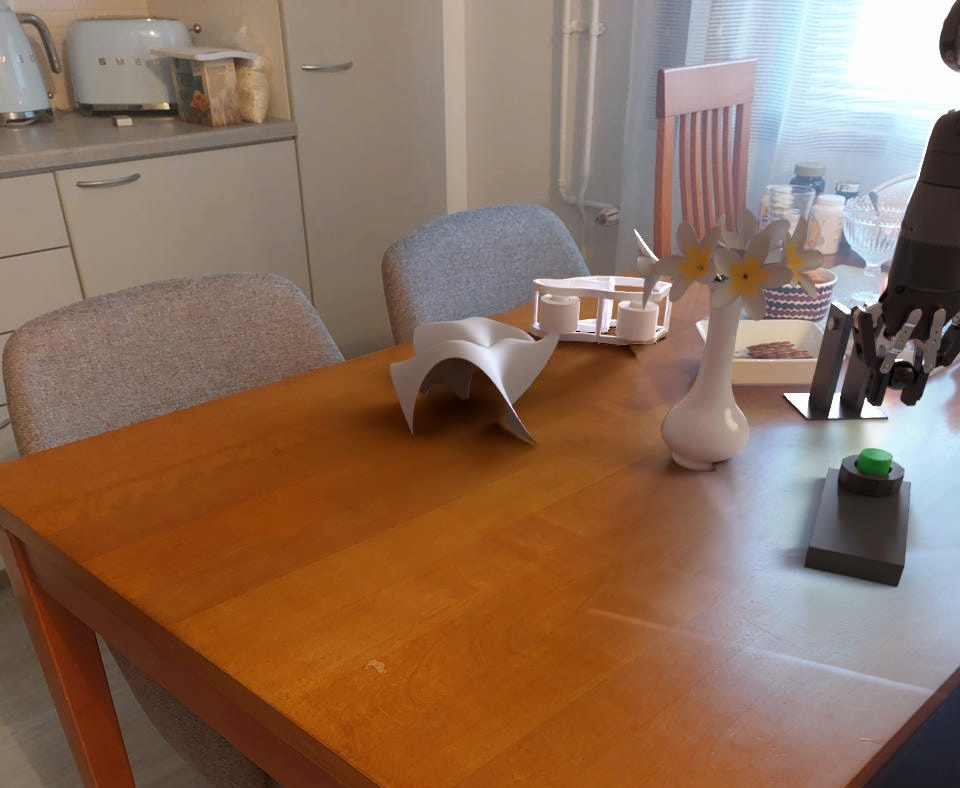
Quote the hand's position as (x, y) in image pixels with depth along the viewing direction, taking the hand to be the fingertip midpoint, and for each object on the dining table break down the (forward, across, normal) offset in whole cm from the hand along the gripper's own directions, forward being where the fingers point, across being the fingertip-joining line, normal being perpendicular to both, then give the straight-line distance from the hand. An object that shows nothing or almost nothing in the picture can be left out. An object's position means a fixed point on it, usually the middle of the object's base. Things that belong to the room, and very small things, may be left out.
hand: (890, 403), depth 100 cm
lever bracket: (+6, 0, +12) cm, 13 cm away
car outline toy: (+6, -23, +42) cm, 49 cm away
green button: (+3, -7, -11) cm, 13 cm away
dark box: (+6, -10, -17) cm, 21 cm away
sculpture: (+6, -43, +19) cm, 47 cm away
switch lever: (-2, 0, +6) cm, 6 cm away
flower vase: (+6, -21, 0) cm, 22 cm away
